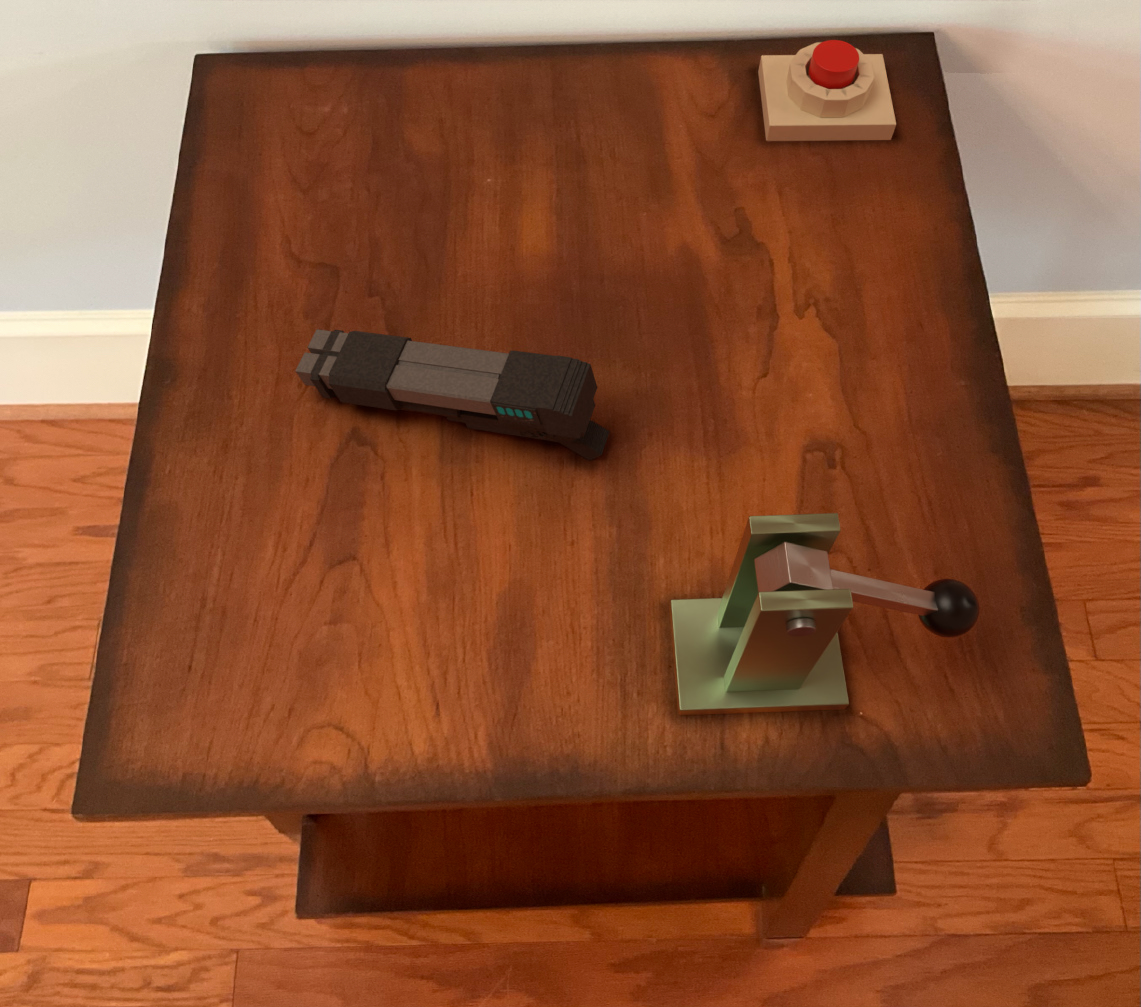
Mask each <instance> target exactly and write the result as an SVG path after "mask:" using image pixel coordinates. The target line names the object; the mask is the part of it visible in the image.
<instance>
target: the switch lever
mask: <svg viewBox="0 0 1141 1007" xmlns="http://www.w3.org/2000/svg"><path fill="white" fill-rule="evenodd" d="M755 569H756V577H757V585H758V592H768V591H796V590H824V589H850V590H851V595H852V601H853V603H859V604H863V605H869V606H872V607H873V606H874V607H877V608H878V607H879V608H883V609H888V610H892V611H897V612H902V613H907V614H911V615H912V614H913V615H917V616H918V619H919V621H920V623H921V624H922V626H923V627H924V628H925V629H926V630H928V631H929V632H930V633H932V634H933V635H936V636H938V637H941V638H942V637H943V638H957V637H960V636H962V635H965V634H966V633H968V632H969V631H970V630H971V629H972V628H973V627H974V626H975V624H976V623H977V621H978V618H979V615H980V604H979V599H978V597H977V596H976V594H975V591H973V589H972V588H970V586H969V585H967V584H966V583H964V582H962V581H960V580H957V579H953V578H941V579H936V580H933V581H932V582H930V583H929V584H928V585H926V586H925V587H924V588H923V589H922V588H919V587H913V586H908V585H906V584H905V585H904V584H900V583H896V582H892V581H886V580H883V579H878V578H873V577H868V576H864V575H860V574H855V573H850V572H846V571H841V570H837V569H833V568H831V565H830V559H829V554H828V552H827V551H823V550H819V549H815V548H810V547H806V546H802V545H798V544H793V543H789V542H783V543H781V544H780V545H778V546H776V547H774V548H773V549H771V550H769V551H767V552H766V553H764V554H762V555H760V556H759V557H757V558H755Z"/></svg>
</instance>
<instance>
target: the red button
mask: <svg viewBox="0 0 1141 1007" xmlns="http://www.w3.org/2000/svg"><path fill="white" fill-rule="evenodd" d="M821 42H822V43H820V44H818V45H817V46H816V47H815V49H814V50H813V54H812V58H811V62H810V67H809V76H810V79H811V80H812V81H813V82H814V83H815V84H816V85H819V86H822V87H824V88H827V89H842V88H845V87H847V86H848V85H849V84H851V82H852V81H853V79H854V76H855V73H856V69H857V66H858V62H859V54H858V51H857V50H856V49H855V48H856V47H854V46H853V45H852V44H850V43H849V42H846V41H843V40H839V39H827V40H824V41H821Z"/></svg>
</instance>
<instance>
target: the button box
mask: <svg viewBox="0 0 1141 1007" xmlns="http://www.w3.org/2000/svg"><path fill="white" fill-rule="evenodd" d="M822 42H823V41H817V42H814V43H812V44H809V45H807V46H805V47H802V48H800V49H799V50H798V51H797V52H796V54H780V55H779V54H770V55H769V54H767V55H765V54H763V55H761V56H760V60H759V65H758V71H757V74H758V82H759V90H760V98H761V99H760V100H761V108H762V115H763V124H764V134H765V141H766V142H815V141H817V142H820V141H821V142H822V141H823V142H825V141H826V142H828V141H829V142H831V141H834V142H835V141H892V138H893V135H894V133H895V129H896V127H897V121H896V116H895V111H894V106H893V105H894V104H893V100H892V95H891V90H890V85H889V80H888V76H887V70H886V64H885V59H884V55H883V53H863V52H862V51H861V50H860V49H859V48H857V47H854V48H855V49H856V50H857V51H858V54H859V62H858V66H857V69H856V73H855V76H854V79H853V81H852V82H851V84H849V85H848V86H847V87H845V88H842V89H827V88H824V87H822V86H819V85H816V84H815V83H814V82H813V81H812V80H811V79H810V76H809V67H810V62H811V58H812V54H813V50H814V49H815V47H816V46H817V45H818V44H820V43H822Z"/></svg>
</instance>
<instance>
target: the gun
mask: <svg viewBox="0 0 1141 1007" xmlns="http://www.w3.org/2000/svg"><path fill="white" fill-rule="evenodd" d="M307 349H308V351H309V352H304V353H303V355H302V356H301V359H300V361H299V363H298V365H297V366H296V369H295V371H294V372H295V373H296V375H297V376H298V377H299V379H300V380H301V382H302V383H303V384H304V386H308V387H315V388H316V390H317V391H318V393H319V394H320V395H321V397H322V398H325V399H333V398H336V397H337V399H338V400H339V402H340V403H346V404H351V405H356V406H357V405H359V406H364V407H369V408H370V407H371V408H378V409H383V410H384V409H385V410H391V411H396V412H397V411H399V410H401V411H406V412H417V413H421V414H422V413H423V414H427V415H428V414H429V415H435V416H442V417H446V419H447V421H451V422H457V423H464V424H465V426H466V428H467V429H470V430H471V429H472V430H477V431H484V432H485V431H486V432H490V433H497V434H504V435H509V436H517V437H523V438H528V439H529V438H530V439H535V440H542V441H548V442H553V443H554V442H555V443H558V444H560V445H562V446H564V447H566V448H567V449H568V450H570V451H572V452H574V453H575V454H577V455H579V456H580V457H582V458H584V459H585V460H587V461H592V460H595V459H597V458H598V457H601V456H603V452H604V450H605V447H606V445H607V441H608V437H609V435H610V430H608V429H607V428H606V427H603V426H602V425H600V424H599V423H597V422H596V421H594V420H591V419H592V416H593V412H594V410H595V407H596V402H595V399H594V398H595V395H596V392H597V390H598V385H597V380H596V378H595V374H594V371H593V368H592V365H591V363H588V362H587V361H582V360H579V358H573V357H571V356H565V355H557V354H556V355H552V354H545V353H537V352H536V353H535V352H530V351H529V352H528V351H521V350H510V351H509V353H508V352H501V351H495V350H494V351H493V350H485V349H479V348H470V347H462V346H455V345H447V344H438V343H432V342H423V341H415V340H413V339H412V338H411V337H408V336H401V335H393V334H392V335H391V334H383V333H378V332H370V331H369V332H368V331H361V330H352V331H349V332H345V331H344V330H341V329H334V330H327V329H318V328H317V329H316V330H315V332H314V333H313V335H312V337H311V339H310V341H309V343H308V345H307Z"/></svg>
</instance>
